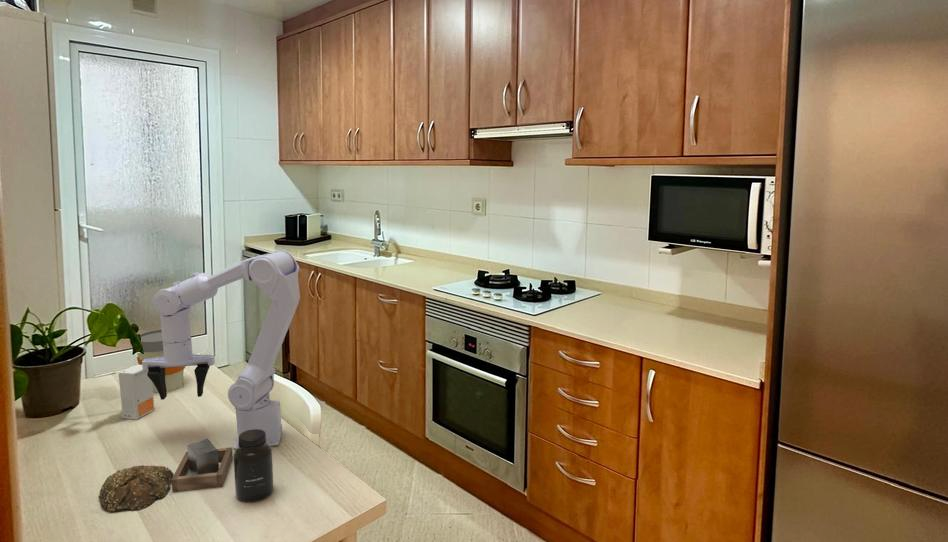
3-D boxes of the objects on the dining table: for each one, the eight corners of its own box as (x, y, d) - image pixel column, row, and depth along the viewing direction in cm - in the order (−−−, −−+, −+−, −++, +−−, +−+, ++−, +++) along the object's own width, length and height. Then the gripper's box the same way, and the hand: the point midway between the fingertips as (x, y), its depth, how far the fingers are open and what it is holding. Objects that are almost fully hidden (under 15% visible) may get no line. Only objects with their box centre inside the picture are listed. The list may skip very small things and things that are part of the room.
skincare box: (137, 420, 139) (132, 373, 137) (122, 418, 140) (117, 372, 138) (155, 410, 145) (151, 365, 143) (141, 408, 146) (136, 363, 143)
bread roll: (107, 483, 113) (104, 459, 112) (177, 471, 117) (174, 449, 116) (89, 520, 101) (86, 495, 100) (168, 506, 105) (165, 482, 104)
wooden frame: (232, 458, 122) (232, 447, 121) (222, 486, 111) (221, 474, 111) (187, 462, 120) (186, 451, 119) (172, 491, 109) (171, 479, 109)
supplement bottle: (251, 507, 105) (247, 447, 102) (228, 495, 108) (223, 437, 106) (281, 489, 110) (278, 432, 108) (258, 479, 114) (255, 423, 112)
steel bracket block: (189, 471, 117) (187, 444, 115) (210, 465, 119) (207, 438, 118) (198, 484, 112) (196, 456, 111) (219, 477, 115) (217, 449, 114)
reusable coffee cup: (183, 374, 168) (179, 326, 166) (195, 387, 159) (190, 336, 156) (135, 385, 161) (129, 333, 158) (144, 399, 151) (138, 345, 148)
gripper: (215, 332, 133) (219, 387, 136) (147, 336, 130) (152, 392, 132) (208, 341, 126) (213, 399, 129) (136, 345, 123) (142, 404, 126)
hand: (182, 396), depth 130 cm, fingers open, 7 cm apart
